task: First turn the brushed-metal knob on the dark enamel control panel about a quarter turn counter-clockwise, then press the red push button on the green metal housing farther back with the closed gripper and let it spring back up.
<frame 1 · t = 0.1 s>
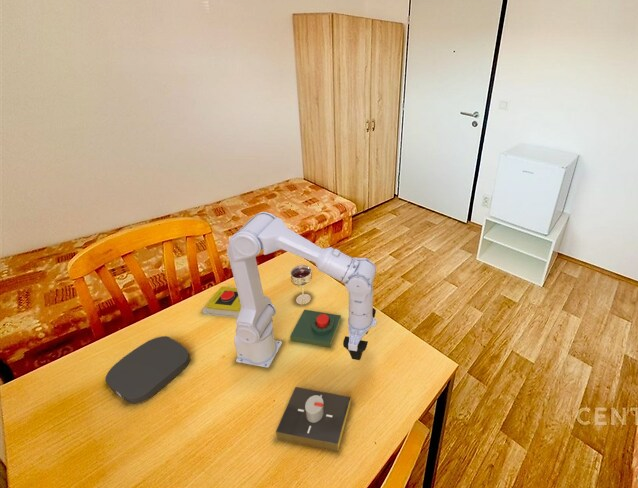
hand: (360, 344, 82), 10 cm above the table, tool pointing down, fingers open, 7 cm apart
control panel: (315, 420, 74), on the table
media streaming box: (151, 371, 82), on the table
button housing: (316, 330, 96), on the table
dial knob: (314, 408, 72), point 5 cm above the table, hinge at 0.0°
wineglass: (303, 299, 107), on the table
start button: (322, 320, 94), point 4 cm above the table, slide at 0.1 cm
emergency button: (232, 305, 103), on the table
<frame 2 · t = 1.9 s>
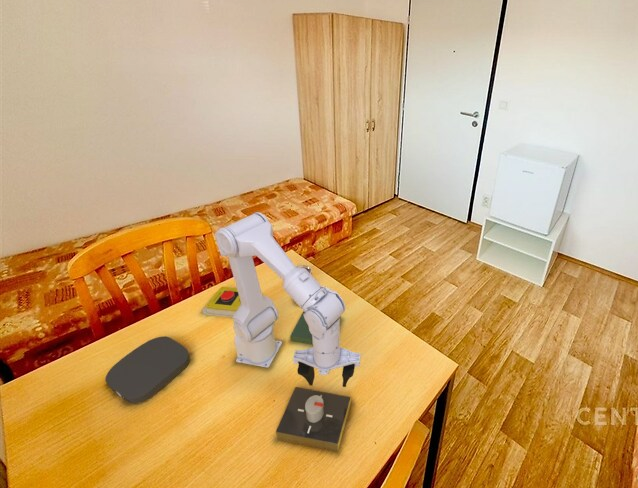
hand: (328, 382, 74), 9 cm above the table, tool pointing down, fingers open, 7 cm apart
nothing on the table moved.
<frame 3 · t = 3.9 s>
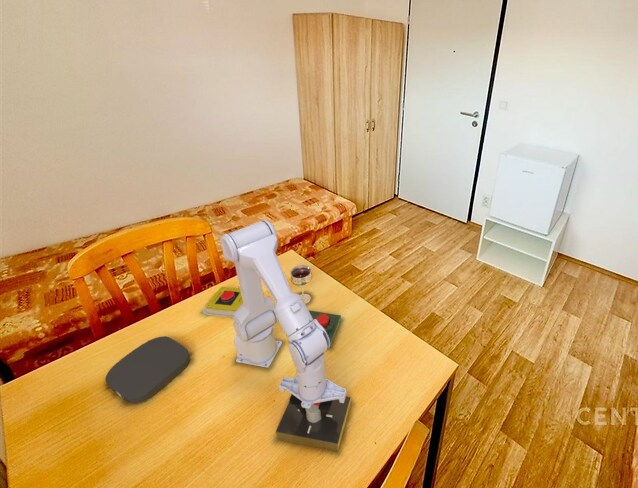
hand: (314, 412, 73), 3 cm above the table, tool pointing down, fingers closed on dial knob, 4 cm apart
dial knob: (314, 408, 72), point 5 cm above the table, hinge at -0.2°, touching gripper
everything else where it was.
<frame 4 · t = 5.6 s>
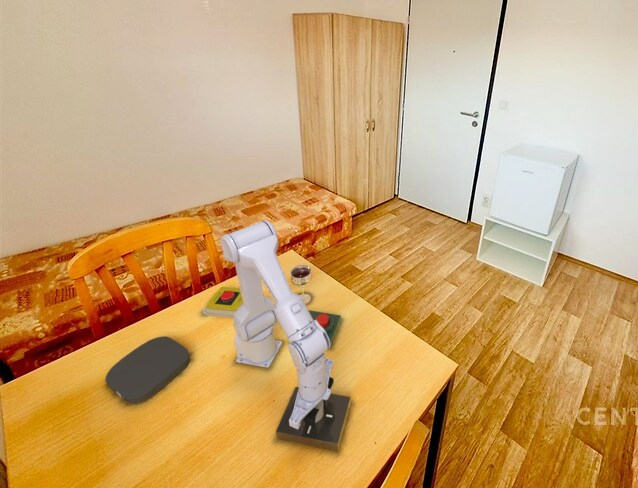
hand: (315, 412, 73), 3 cm above the table, tool pointing down, fingers closed on dial knob, 4 cm apart
dial knob: (314, 408, 72), point 5 cm above the table, hinge at 80.0°, touching gripper
everything else where it was.
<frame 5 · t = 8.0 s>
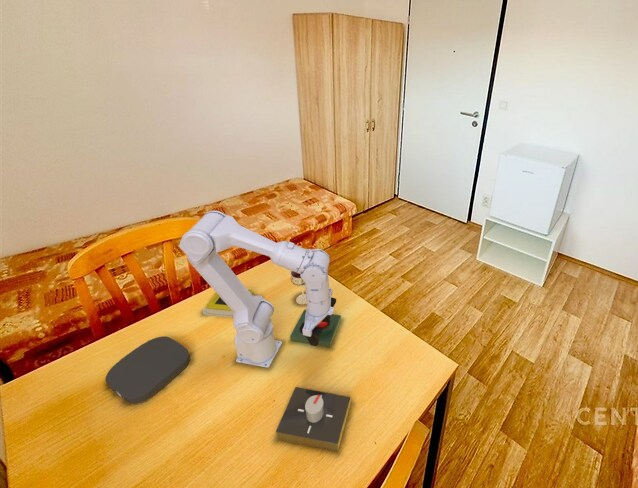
hand: (320, 332, 86), 9 cm above the table, tool pointing down, fingers open, 7 cm apart
dial knob: (314, 408, 72), point 5 cm above the table, hinge at 80.2°
everything else where it was.
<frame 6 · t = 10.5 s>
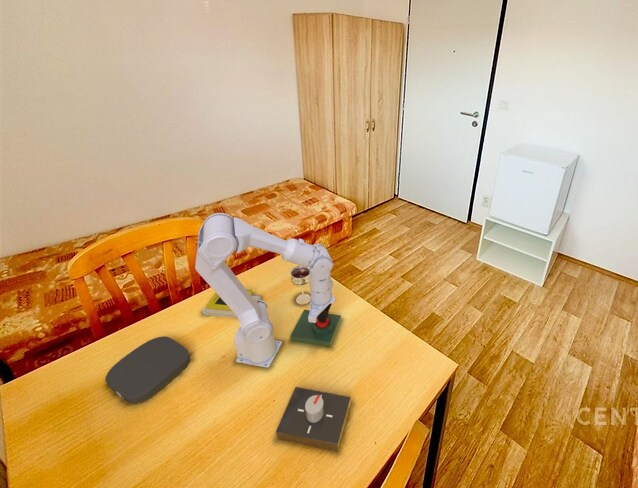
hand: (322, 320, 94), 5 cm above the table, tool pointing down, fingers closed, pressing on start button
start button: (322, 322, 95), point 4 cm above the table, slide at -0.6 cm, touching gripper
everything else where it was.
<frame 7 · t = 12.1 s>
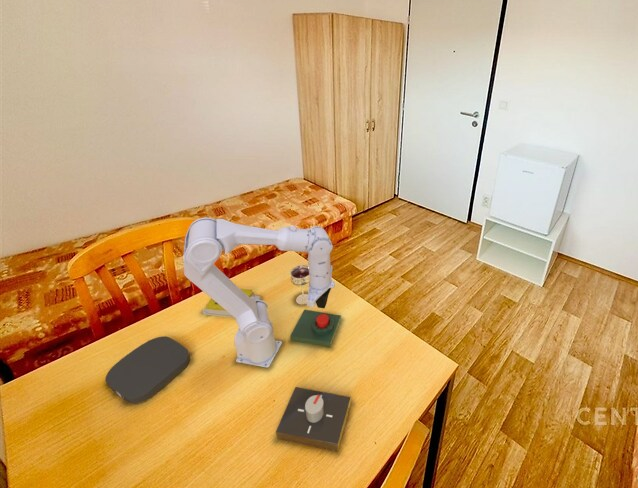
hand: (321, 306, 92), 10 cm above the table, tool pointing down, fingers closed
start button: (322, 320, 94), point 4 cm above the table, slide at 0.1 cm
everything else where it was.
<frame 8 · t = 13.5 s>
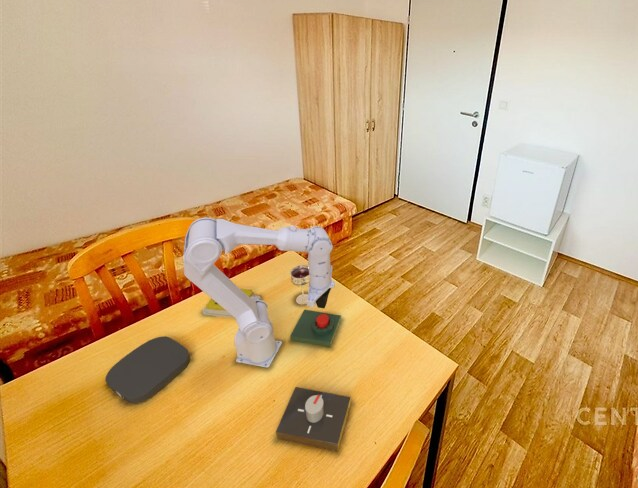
hand: (321, 306, 92), 10 cm above the table, tool pointing down, fingers closed
nothing on the table moved.
at the end: dial knob at +80° (first picture: +0°); start button pushed in 1.2 cm at the most during the clip, back to where it started at the end; start button slide at 0.1 cm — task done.
